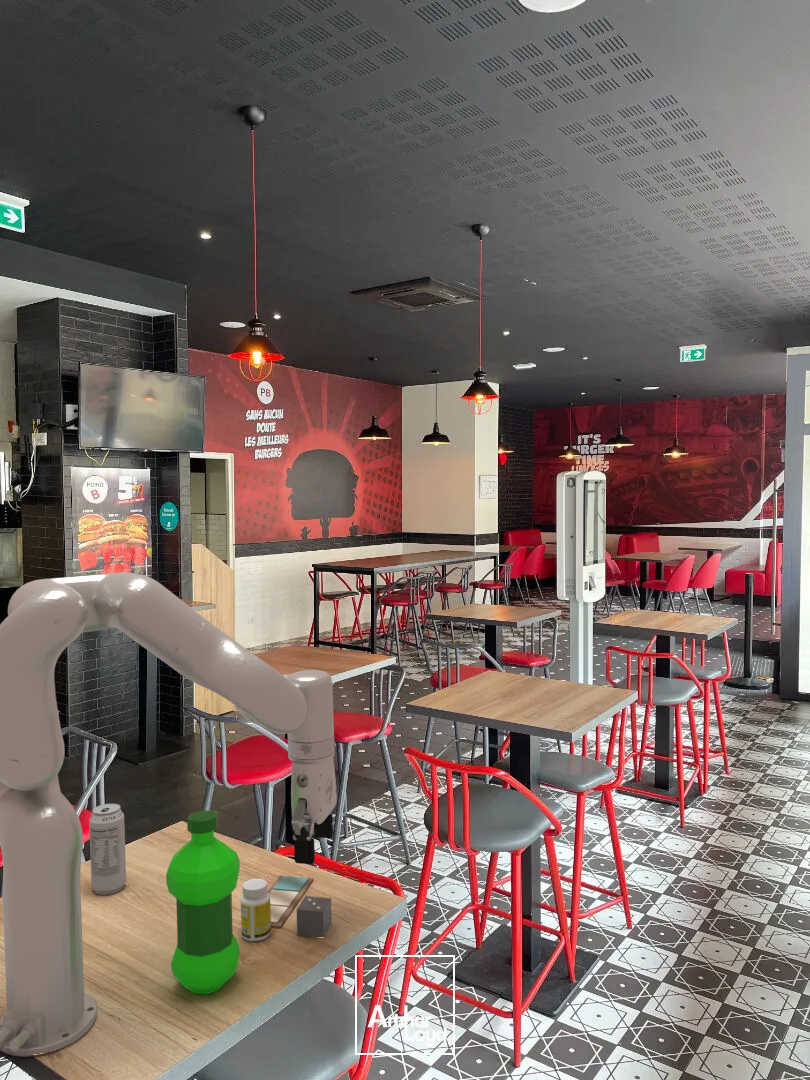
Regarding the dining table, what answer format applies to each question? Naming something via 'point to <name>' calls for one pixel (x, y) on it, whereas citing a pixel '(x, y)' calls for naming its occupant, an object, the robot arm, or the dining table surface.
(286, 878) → the board
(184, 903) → the plastic bottle
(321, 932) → the die
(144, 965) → the dining table surface
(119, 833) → the energy drink can
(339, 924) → the dining table surface
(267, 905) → the supplement bottle
